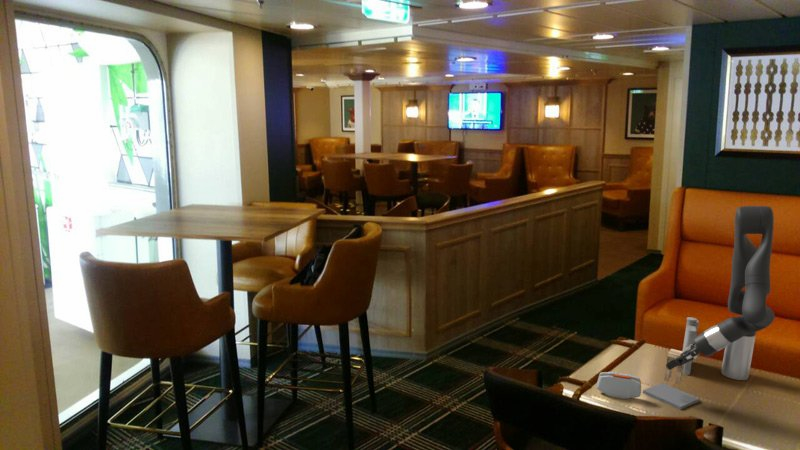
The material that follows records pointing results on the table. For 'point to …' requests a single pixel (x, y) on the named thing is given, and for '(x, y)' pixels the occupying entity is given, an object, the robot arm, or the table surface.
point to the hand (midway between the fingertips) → (669, 364)
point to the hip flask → (689, 340)
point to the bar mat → (671, 396)
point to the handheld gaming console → (619, 385)
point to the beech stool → (671, 356)
